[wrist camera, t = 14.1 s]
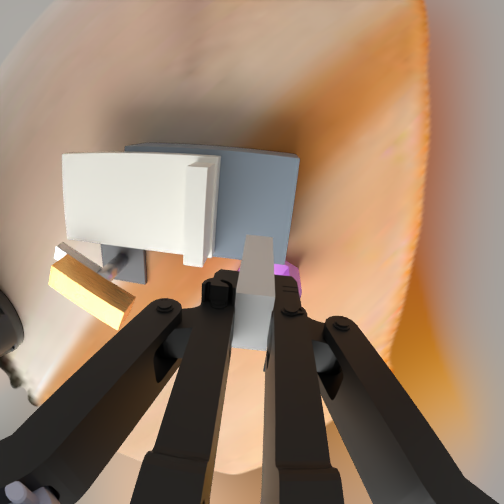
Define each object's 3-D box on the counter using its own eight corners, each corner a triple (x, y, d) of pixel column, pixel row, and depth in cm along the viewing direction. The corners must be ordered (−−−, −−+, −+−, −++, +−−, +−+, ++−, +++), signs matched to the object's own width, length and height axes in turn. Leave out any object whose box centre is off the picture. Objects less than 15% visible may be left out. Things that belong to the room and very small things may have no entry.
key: (149, 285, 36) (117, 330, 27) (79, 242, 34) (35, 274, 26) (156, 269, 35) (124, 313, 26) (83, 225, 33) (38, 255, 25)
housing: (106, 275, 37) (88, 294, 32) (99, 143, 30) (75, 147, 25) (274, 299, 36) (274, 324, 32) (295, 154, 29) (299, 158, 25)
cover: (74, 234, 29) (51, 250, 25) (69, 152, 26) (43, 158, 22) (214, 252, 29) (204, 273, 25) (221, 155, 25) (210, 161, 21)
